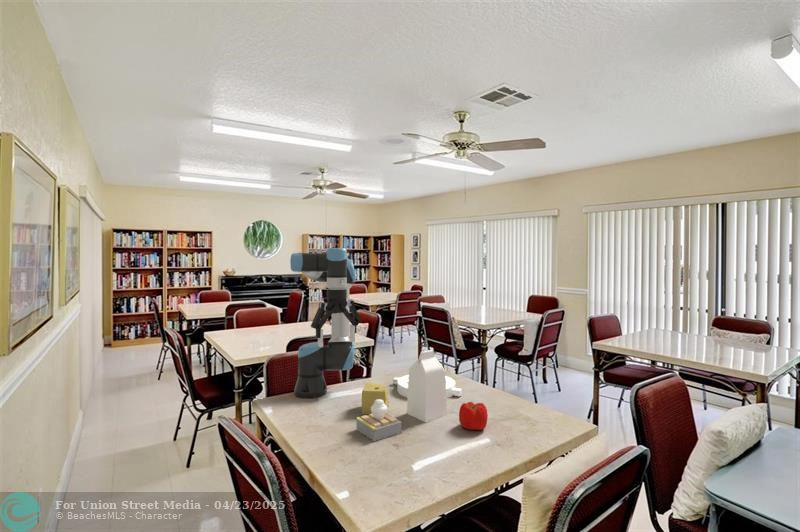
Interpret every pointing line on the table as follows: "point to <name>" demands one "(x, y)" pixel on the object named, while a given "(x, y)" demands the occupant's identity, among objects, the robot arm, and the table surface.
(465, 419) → the red bell pepper
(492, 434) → the table surface
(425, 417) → the milk
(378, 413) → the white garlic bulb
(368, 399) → the cheese
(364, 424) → the dock
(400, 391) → the white circle with bar
